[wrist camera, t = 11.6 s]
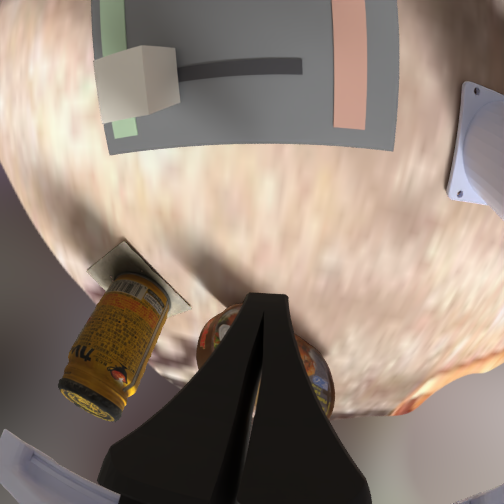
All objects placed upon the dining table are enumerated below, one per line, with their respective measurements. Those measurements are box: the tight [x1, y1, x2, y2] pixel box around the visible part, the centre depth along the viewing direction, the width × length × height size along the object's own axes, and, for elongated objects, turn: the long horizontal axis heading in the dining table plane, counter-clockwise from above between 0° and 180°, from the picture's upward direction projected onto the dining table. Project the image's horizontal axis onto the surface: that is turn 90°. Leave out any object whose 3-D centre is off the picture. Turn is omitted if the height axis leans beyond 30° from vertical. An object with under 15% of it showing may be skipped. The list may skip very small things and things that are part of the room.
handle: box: [93, 45, 180, 124], centre depth 10 cm, size 2×3×4 cm
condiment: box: [58, 241, 192, 422], centre depth 20 cm, size 7×8×12 cm
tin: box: [196, 303, 335, 419], centre depth 23 cm, size 15×3×8 cm, turn 45°
